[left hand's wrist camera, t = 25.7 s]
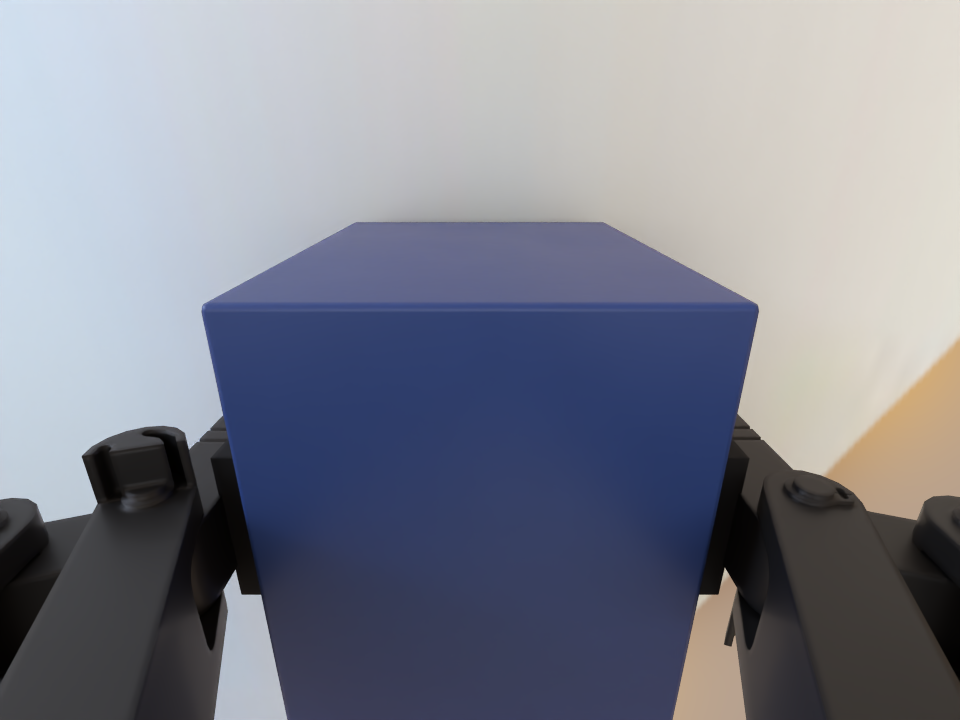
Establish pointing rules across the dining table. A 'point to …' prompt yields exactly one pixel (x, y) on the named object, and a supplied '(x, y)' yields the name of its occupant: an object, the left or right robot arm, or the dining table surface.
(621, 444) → the block
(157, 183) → the dining table surface
